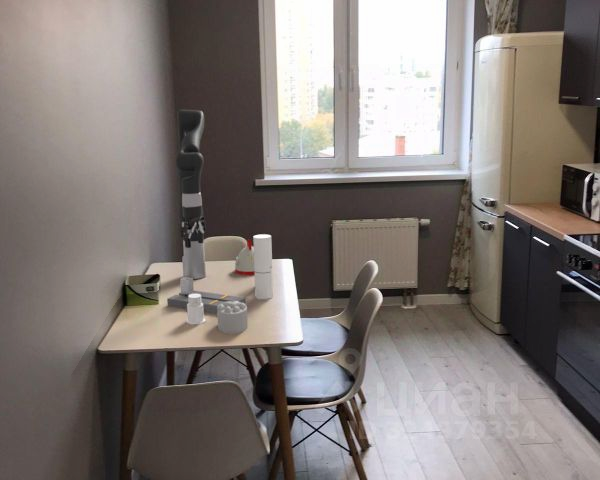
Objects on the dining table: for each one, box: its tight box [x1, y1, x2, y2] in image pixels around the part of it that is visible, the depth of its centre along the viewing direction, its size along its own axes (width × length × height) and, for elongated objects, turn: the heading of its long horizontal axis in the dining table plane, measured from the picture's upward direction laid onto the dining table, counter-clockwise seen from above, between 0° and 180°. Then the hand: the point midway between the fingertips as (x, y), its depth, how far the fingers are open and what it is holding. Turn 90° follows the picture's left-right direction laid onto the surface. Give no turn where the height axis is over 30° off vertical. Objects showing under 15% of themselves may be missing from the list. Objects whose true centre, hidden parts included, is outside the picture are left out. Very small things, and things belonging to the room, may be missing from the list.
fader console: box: [166, 290, 247, 314], centre depth 267 cm, size 28×13×3 cm, turn 63°
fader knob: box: [179, 276, 195, 296], centre depth 270 cm, size 4×3×9 cm
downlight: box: [185, 294, 206, 325], centre depth 248 cm, size 8×7×10 cm
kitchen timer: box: [234, 238, 255, 276], centre depth 315 cm, size 14×14×15 cm
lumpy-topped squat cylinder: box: [216, 301, 249, 335], centre depth 241 cm, size 10×13×9 cm
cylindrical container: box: [252, 233, 274, 300], centre depth 274 cm, size 7×7×25 cm
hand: (194, 245), depth 268 cm, fingers open, 8 cm apart
